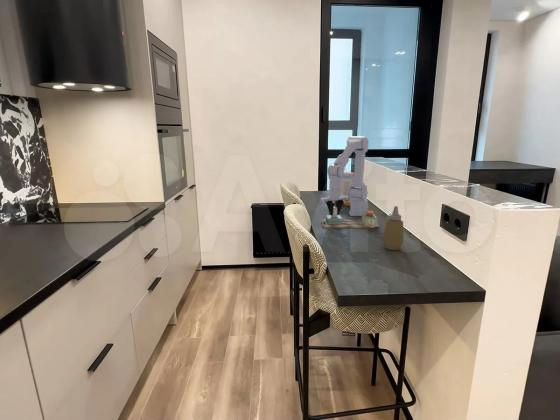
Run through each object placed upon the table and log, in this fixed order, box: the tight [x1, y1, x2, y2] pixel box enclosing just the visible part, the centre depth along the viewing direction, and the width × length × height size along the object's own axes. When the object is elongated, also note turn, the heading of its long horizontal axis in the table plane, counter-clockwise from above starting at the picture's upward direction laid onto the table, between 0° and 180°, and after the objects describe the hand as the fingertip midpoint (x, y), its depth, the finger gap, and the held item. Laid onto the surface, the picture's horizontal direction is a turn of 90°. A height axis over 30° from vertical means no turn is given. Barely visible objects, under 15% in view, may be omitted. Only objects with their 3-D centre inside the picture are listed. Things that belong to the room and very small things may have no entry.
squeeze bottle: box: [382, 205, 405, 251], centre depth 133 cm, size 8×8×18 cm
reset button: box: [365, 210, 375, 217], centre depth 165 cm, size 4×4×4 cm
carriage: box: [326, 206, 343, 224], centre depth 166 cm, size 7×7×8 cm
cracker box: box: [332, 171, 354, 207], centre depth 207 cm, size 14×6×21 cm, turn 58°
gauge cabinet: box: [361, 213, 378, 226], centre depth 166 cm, size 6×8×5 cm
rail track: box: [321, 218, 380, 229], centre depth 167 cm, size 28×9×3 cm, turn 87°
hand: (334, 214), depth 166 cm, fingers closed on carriage, 3 cm apart
